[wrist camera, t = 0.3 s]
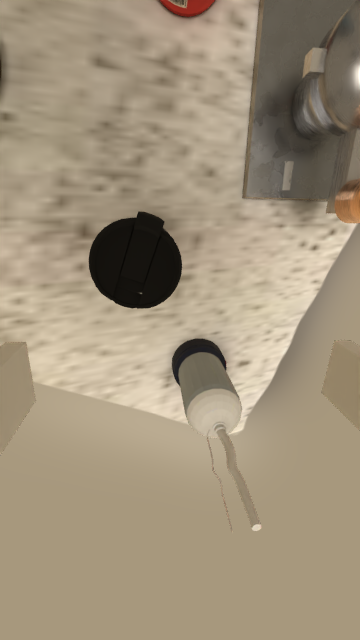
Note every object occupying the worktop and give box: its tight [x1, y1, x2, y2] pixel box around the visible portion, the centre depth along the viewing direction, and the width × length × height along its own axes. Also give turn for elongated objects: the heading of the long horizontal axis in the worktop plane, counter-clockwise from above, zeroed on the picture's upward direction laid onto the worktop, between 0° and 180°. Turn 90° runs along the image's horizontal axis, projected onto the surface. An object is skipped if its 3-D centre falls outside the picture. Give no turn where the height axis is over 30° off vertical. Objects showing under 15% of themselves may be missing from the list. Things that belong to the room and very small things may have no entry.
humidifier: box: [172, 339, 261, 533], centre depth 31 cm, size 8×8×25 cm
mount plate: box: [243, 0, 356, 201], centre depth 29 cm, size 20×16×8 cm
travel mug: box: [89, 212, 182, 308], centre depth 27 cm, size 6×7×20 cm
